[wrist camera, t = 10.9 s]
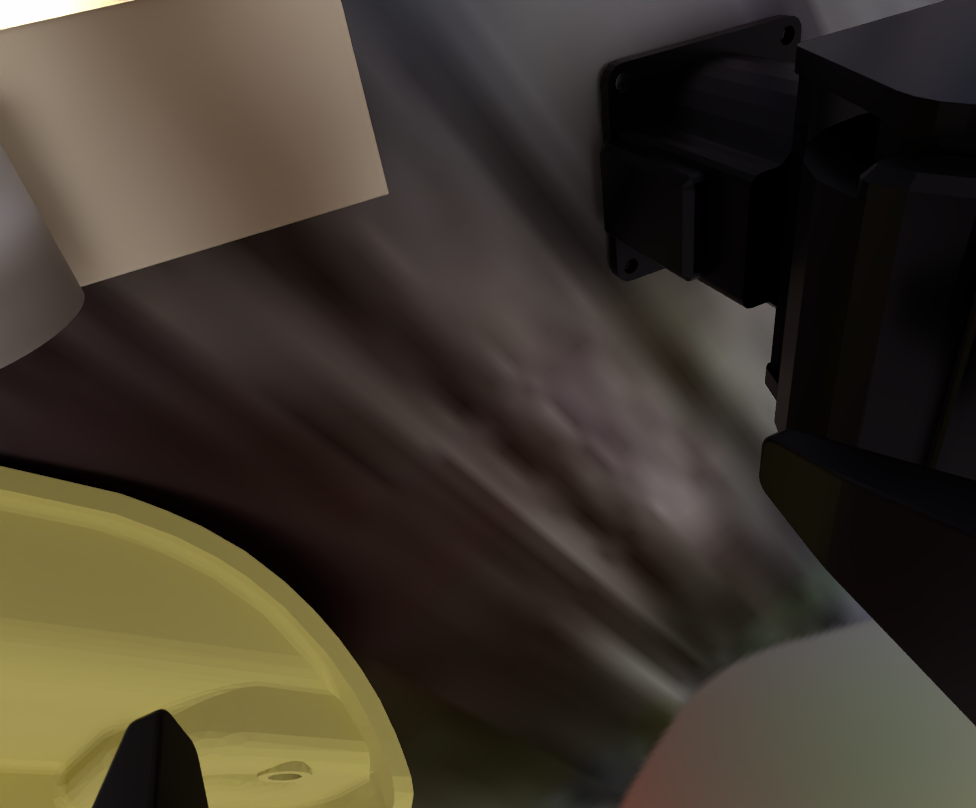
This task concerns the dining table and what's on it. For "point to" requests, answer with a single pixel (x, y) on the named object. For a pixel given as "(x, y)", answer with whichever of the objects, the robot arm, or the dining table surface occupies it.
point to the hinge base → (167, 141)
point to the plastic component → (171, 660)
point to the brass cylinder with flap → (45, 9)
